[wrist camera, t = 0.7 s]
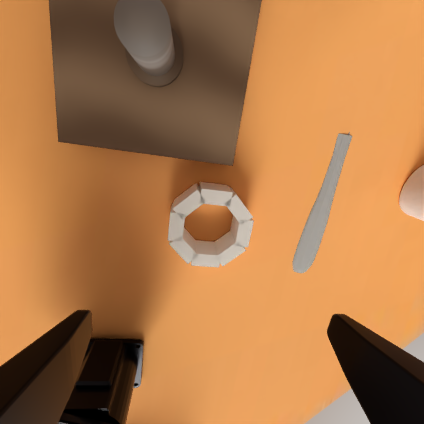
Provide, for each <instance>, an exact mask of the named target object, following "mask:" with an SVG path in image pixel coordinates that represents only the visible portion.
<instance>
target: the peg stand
mask: <svg viewBox="0 0 424 424" xmlns="http://www.w3.org/2000/svg"><path fill="white" fill-rule="evenodd" d="M261 1H262V0H49V10H50V25H51V40H52V55H53V69H54V84H55V99H56V114H57V129H58V142H64V143H71V144H78V145H86V146H93V147H100V148H108V149H115V150H122V151H129V152H137V153H144V154H151V155H158V156H166V157H173V158H180V159H187V160H195V161H202V162H209V163H216V164H224V165H231V166H233V161H234V156H235V150H236V144H237V139H238V133H239V127H240V121H241V116H242V110H243V104H244V98H245V93H246V87H247V81H248V76H249V70H250V64H251V58H252V53H253V47H254V41H255V35H256V30H257V24H258V18H259V13H260V7H261Z"/></svg>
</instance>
